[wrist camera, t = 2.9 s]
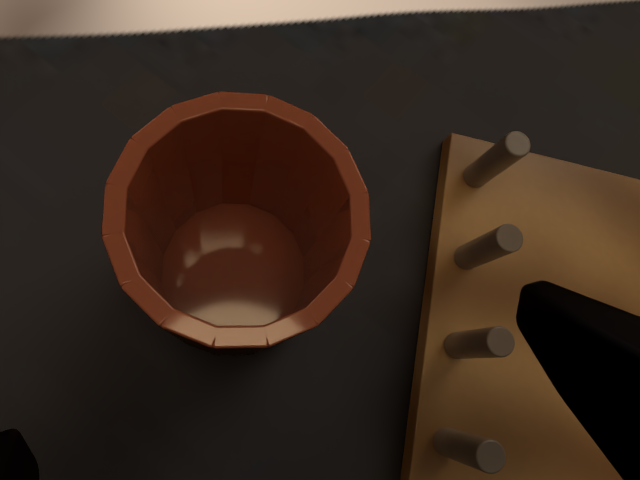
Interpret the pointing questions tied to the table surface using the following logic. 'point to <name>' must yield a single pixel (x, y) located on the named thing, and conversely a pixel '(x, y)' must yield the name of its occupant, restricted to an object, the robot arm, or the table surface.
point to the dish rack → (511, 309)
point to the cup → (236, 221)
